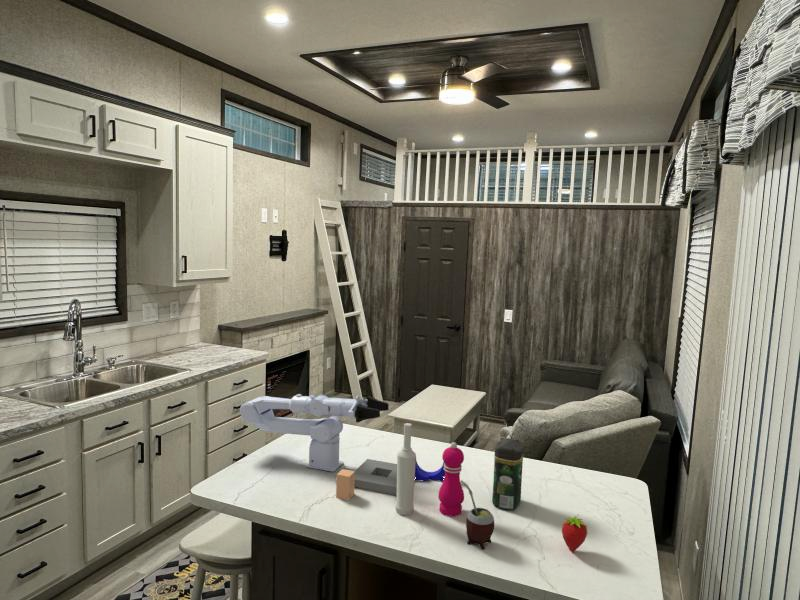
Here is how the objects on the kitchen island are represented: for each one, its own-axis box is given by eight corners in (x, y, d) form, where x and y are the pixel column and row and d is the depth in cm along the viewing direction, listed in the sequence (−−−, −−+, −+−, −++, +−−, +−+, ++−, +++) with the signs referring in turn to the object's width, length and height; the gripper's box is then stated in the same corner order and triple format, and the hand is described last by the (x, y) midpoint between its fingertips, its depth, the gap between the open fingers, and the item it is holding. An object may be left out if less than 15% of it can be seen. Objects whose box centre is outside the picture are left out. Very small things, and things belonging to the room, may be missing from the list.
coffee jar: (496, 493, 164) (499, 434, 162) (522, 499, 161) (526, 438, 159) (488, 507, 155) (492, 444, 153) (516, 513, 152) (520, 449, 150)
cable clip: (409, 480, 171) (409, 462, 171) (411, 474, 176) (411, 457, 175) (447, 484, 169) (447, 465, 169) (448, 478, 174) (448, 460, 173)
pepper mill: (446, 519, 147) (449, 448, 145) (432, 507, 153) (435, 439, 151) (468, 514, 150) (472, 445, 148) (454, 503, 157) (457, 436, 155)
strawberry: (588, 548, 136) (591, 510, 135) (581, 562, 129) (584, 523, 128) (564, 540, 139) (567, 503, 138) (556, 554, 132) (559, 515, 131)
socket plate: (347, 485, 165) (347, 478, 165) (367, 466, 180) (367, 458, 180) (396, 495, 160) (397, 487, 160) (412, 474, 175) (413, 466, 175)
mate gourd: (497, 549, 134) (501, 491, 132) (467, 552, 132) (470, 493, 131) (486, 533, 141) (489, 478, 139) (457, 535, 139) (460, 479, 138)
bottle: (416, 508, 153) (419, 422, 150) (410, 517, 148) (414, 428, 145) (398, 505, 154) (402, 420, 152) (392, 513, 149) (395, 425, 147)
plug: (336, 497, 158) (336, 474, 157) (341, 491, 161) (342, 469, 161) (348, 499, 156) (349, 476, 156) (354, 494, 160) (354, 471, 159)
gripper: (334, 401, 168) (374, 404, 164) (353, 389, 182) (391, 391, 177) (335, 423, 169) (375, 426, 164) (354, 410, 182) (392, 412, 178)
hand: (384, 410), depth 171 cm, fingers open, 7 cm apart
